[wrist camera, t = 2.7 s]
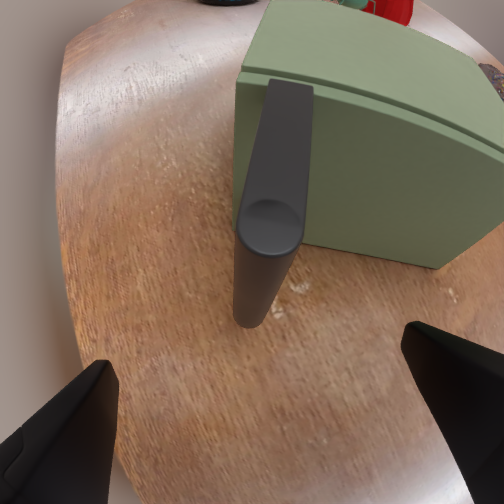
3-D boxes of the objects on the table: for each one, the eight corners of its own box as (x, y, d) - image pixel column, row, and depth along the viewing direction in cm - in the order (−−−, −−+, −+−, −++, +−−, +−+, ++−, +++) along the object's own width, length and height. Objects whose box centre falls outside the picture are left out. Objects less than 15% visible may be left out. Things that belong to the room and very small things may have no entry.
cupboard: (436, 258, 21) (539, 169, 10) (234, 218, 21) (241, 64, 10) (417, 149, 26) (472, 58, 15) (260, 110, 26) (274, -8, 15)
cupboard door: (440, 357, 18) (580, 311, 6) (210, 331, 18) (176, 241, 7) (437, 260, 21) (543, 170, 10) (234, 220, 21) (240, 62, 10)
